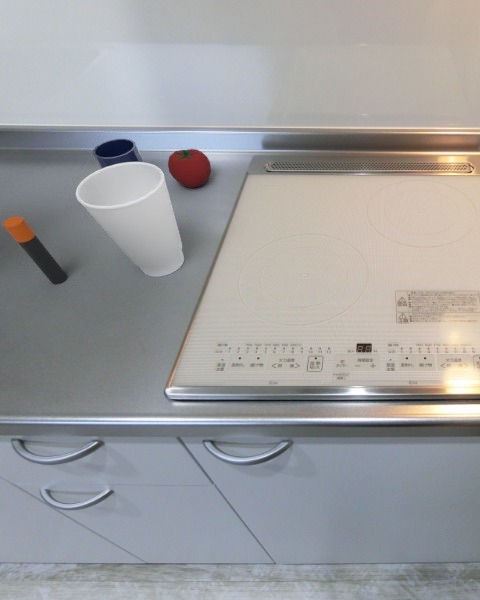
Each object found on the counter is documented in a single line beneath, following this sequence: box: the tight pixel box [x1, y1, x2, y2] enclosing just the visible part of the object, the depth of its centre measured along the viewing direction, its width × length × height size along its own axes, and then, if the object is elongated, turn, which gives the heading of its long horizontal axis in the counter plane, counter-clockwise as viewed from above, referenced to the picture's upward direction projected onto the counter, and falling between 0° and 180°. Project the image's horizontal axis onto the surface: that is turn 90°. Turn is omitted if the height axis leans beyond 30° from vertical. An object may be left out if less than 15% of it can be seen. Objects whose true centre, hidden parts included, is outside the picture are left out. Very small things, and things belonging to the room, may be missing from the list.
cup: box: [75, 161, 185, 278], centre depth 69 cm, size 12×12×16 cm
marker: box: [2, 216, 68, 285], centre depth 68 cm, size 2×2×12 cm
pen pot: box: [92, 138, 146, 169], centre depth 88 cm, size 8×8×8 cm
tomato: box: [167, 148, 212, 189], centre depth 89 cm, size 8×8×7 cm
